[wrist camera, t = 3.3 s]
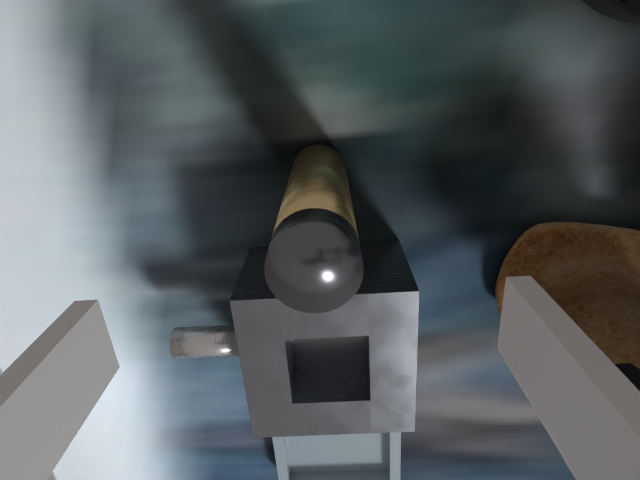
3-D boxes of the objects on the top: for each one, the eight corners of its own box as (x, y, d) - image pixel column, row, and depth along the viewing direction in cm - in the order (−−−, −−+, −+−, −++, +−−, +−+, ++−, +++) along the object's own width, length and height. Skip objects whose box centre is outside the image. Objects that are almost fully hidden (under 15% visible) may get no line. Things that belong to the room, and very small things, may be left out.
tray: (269, 382, 40) (266, 400, 38) (397, 377, 40) (401, 394, 38) (282, 471, 45) (280, 491, 43) (396, 467, 44) (400, 487, 42)
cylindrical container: (289, 146, 31) (258, 228, 16) (344, 142, 31) (362, 222, 16) (294, 198, 33) (269, 315, 18) (346, 195, 33) (364, 310, 18)
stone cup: (468, 328, 37) (552, 488, 24) (517, 202, 33) (657, 310, 19) (630, 354, 38) (801, 522, 25) (701, 234, 34) (961, 360, 20)
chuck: (176, 252, 35) (137, 305, 27) (398, 239, 34) (419, 291, 27) (202, 368, 39) (174, 440, 32) (397, 360, 39) (414, 431, 31)
